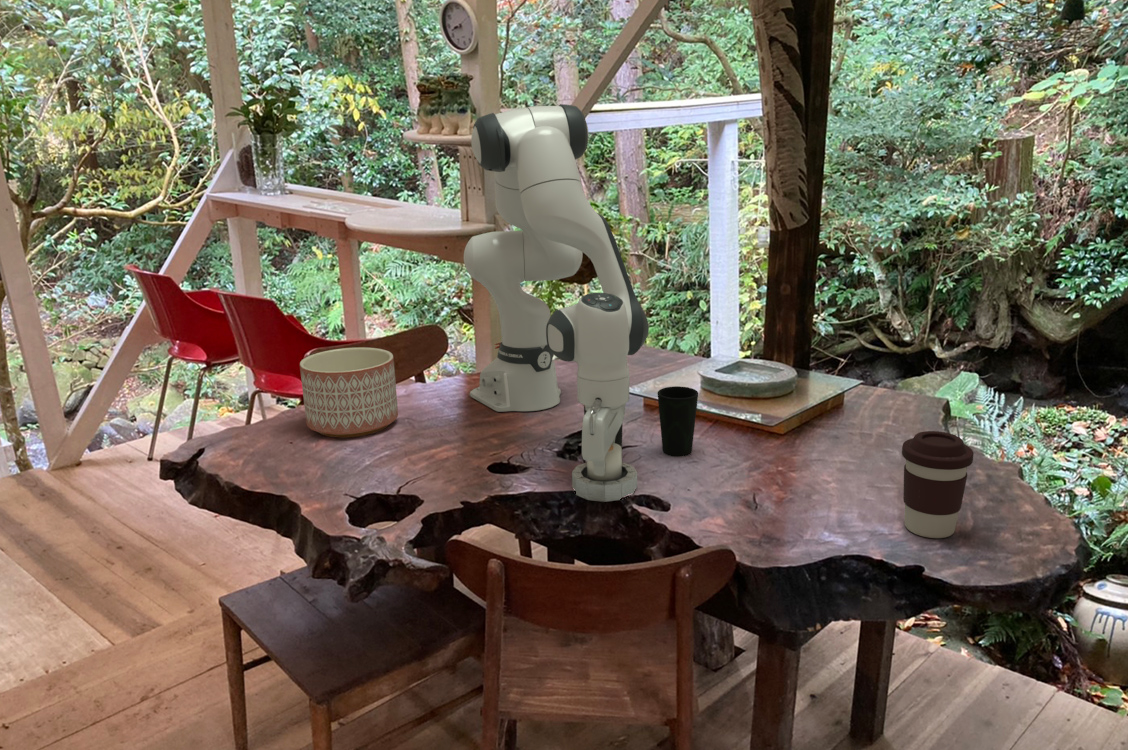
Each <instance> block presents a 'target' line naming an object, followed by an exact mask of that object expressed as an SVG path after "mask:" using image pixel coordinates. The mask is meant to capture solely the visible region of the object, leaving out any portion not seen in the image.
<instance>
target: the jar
mask: <svg viewBox="0 0 1128 750" xmlns="http://www.w3.org/2000/svg"><path fill="white" fill-rule="evenodd" d="M622 448H623V447H621V446H620V445H618V444H615V443H612V444H611V446H610V448H609V450H608V452H607V454H606V456H605V463H606V472H605V474H604V475H603V476H598V475H595V474H594V465H593V461H587V460H586V462H587V476H588V478H590V479H591V480H594V481H602V482H607V481H615V480H618V479H619V478H621V476H622V462H623V461H622V459H623V457H622V456H623V455H622V454H623V453H622Z"/></svg>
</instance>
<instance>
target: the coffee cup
mask: <svg viewBox="0 0 1128 750" xmlns="http://www.w3.org/2000/svg"><path fill="white" fill-rule="evenodd" d="M901 447H902V448H901V454H902V457H903V458H904V459H905V463H904V466H903V503H904V526H905V528H906V529H907V530H908V531H909V532H911V533H913V534H915V535H917V536H920V537H923V538H929V539H943V538H945V539H946V538H948V537H950V536H952V535H953V534H954V533H955V531H956V527H957V521H958V516H959V512H960V510H961V508H962V504H963V499H964V494H965V489H966V485H967V479H968V472H967V470H968V467H970V466H971V465H972V464H973V461H974V453H975V452H974V450H973V449H972V448H971V447H970V446H969V445H967V444H965V443H964V440H963V439H962V438H961V437H960V436H959V435H955V434H954V433H953V434H952V433H950V432H945V431H939V430H927V431H920V432H918V433H916V434H915V435H914V436H913V437H912V438H909V439H906V440H905V441H903V443H902V445H901Z"/></svg>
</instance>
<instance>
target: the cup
mask: <svg viewBox="0 0 1128 750" xmlns="http://www.w3.org/2000/svg"><path fill="white" fill-rule="evenodd" d="M698 399H699V391H697V389H695V388H692V387H687V386H676V385H675V386H666V387H663V388H660V389H659V390H658V391H657V402H658V404H657V405H658V413H659V425H660V426H659V427H660V434H661V435H660V436H661V445H662V452H663V454H664V455H666V456H668V457H672V458H673V457H675V458H682V457H688V456H690V455H691V454H692V452H693V446H694V445H693V443H694V442H693V441H694V435H695V425H696V417H697V409H698Z"/></svg>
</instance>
